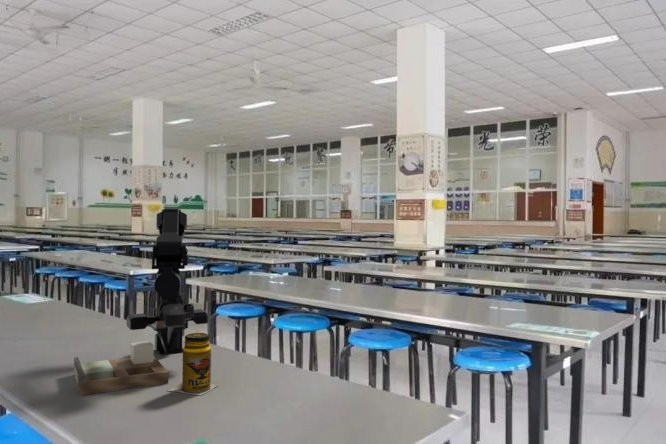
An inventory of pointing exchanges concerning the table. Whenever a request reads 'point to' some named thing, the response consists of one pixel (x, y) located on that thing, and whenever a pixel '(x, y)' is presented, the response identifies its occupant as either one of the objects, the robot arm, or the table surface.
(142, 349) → the block
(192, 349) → the condiment
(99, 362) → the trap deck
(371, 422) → the table surface
